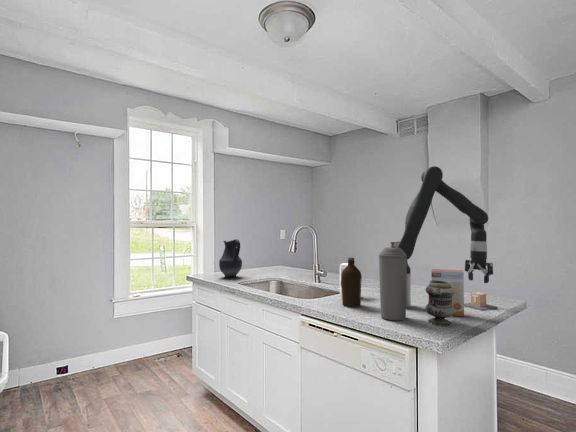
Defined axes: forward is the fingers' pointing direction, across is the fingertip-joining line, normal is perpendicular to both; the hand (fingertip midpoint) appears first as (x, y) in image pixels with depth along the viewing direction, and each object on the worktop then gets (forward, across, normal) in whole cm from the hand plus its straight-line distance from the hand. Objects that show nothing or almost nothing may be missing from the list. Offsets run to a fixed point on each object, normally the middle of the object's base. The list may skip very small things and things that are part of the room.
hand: (478, 281), depth 185 cm
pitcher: (+15, -144, -87) cm, 169 cm away
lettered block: (+12, 0, 0) cm, 12 cm away
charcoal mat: (+13, 0, 0) cm, 13 cm away
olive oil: (+14, -32, -56) cm, 66 cm away
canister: (+14, -4, -53) cm, 55 cm away
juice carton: (+14, -51, -45) cm, 69 cm away
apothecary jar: (+14, +11, -40) cm, 43 cm away
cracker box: (+13, +3, -25) cm, 29 cm away
